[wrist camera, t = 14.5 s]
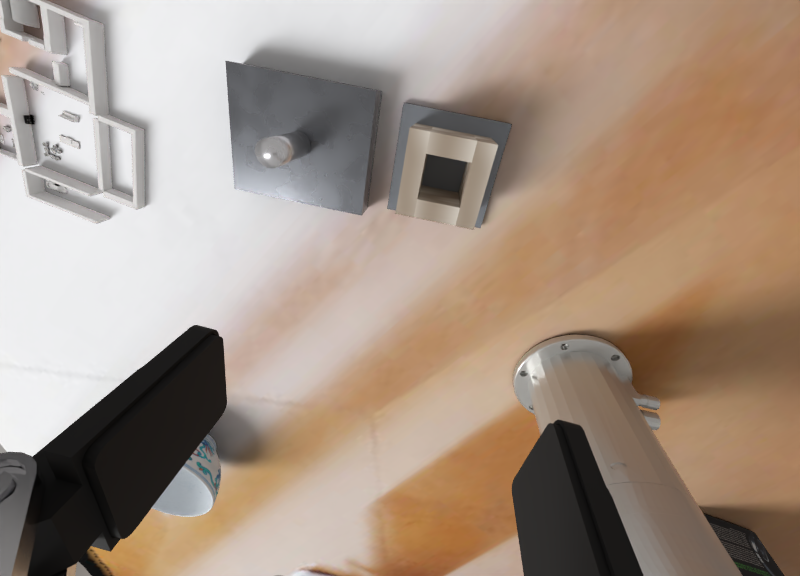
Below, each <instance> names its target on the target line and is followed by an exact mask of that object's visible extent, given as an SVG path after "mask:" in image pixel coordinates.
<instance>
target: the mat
mask: <svg viewBox="0 0 800 576" xmlns="http://www.w3.org/2000/svg"><path fill="white" fill-rule="evenodd" d="M415 123H418V124H423V125H428V126H433V127H438V128H443V129H448V130H453V131H458V132H463V133H468V134H473V135H479V136H484V137H489V138H492V139H493V140H494V141H495V142H496V143H497V144H498V148H497V151H496V155H495V158H494V162H493V165H492V169H491V172H490V175H489V179H488V182H487V186H486V189H485V193H484V196H483V200H482V203H481V206H480V210H479V213H478V217H477V220H476V224H475V227H478V228H481V224H482V221H483V218H484V215H485V211H486V208H487V205H488V201H489V198H490V195H491V191H492V188H493V185H494V182H495V178H496V175H497V172H498V168H499V165H500V162H501V158H502V155H503V152H504V149H505V145H506V142H507V139H508V135H509V132H510V129H511V125H512V124H509V123H504V122H499V121H494V120H489V119H484V118H479V117H474V116H469V115H464V114H459V113H454V112H449V111H444V110H439V109H434V108H429V107H424V106H419V105H414V104H409V103H404V104H403V111H402V117H401V124H400V130H399V136H398V143H397V149H396V156H395V162H394V169H393V175H392V181H391V188H390V194H389V201H388V207H387V209H391V210H396V207H397V201H398V195H399V189H400V183H401V177H402V171H403V165H404V159H405V153H406V147H407V141H408V135H409V129H410V127H411V126H413V125H414V124H415ZM465 165H466V162H465V161H460V160H455V159H450V158H445V157H440V156H435V155H430V154H428V156H427V161H426V166H425V171H424V176H423V181H422V185H423V186H428V187H433V188H438V189H443V190H448V191H453V192H458V193H459V189H460V185H461V181H462V177H463V173H464V169H465Z"/></svg>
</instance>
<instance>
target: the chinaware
mask: <svg viewBox="0 0 800 576" xmlns="http://www.w3.org/2000/svg"><path fill="white" fill-rule="evenodd" d="M216 447H217V446H216V443H215V441H214V439H213V438H212V437H211V436H210V435H209V434H207V436H206V437H205V438H204V439H203V441H202V442H201V443H200V445H199V446H198V447H197V449H196V450H195V451H194V453H193V454H192V455H191V457H190V458H189V459H188V460H187V462H186V463H185V464H184V466H183V467H182V468H181V470H180V471H179V472H178V474H177V475H176V476H175V478H174V479H173V480H172V482H171V483H170V484H169V485H168V487H167V488H166V489H165V491H164V492H163V493H162V495H161V496H160V497H159V499H158V500H157V501H156V503H155V504H154V505H153V506H152V508H153V509H155V510H158V511H161V512H164V513H167V514H171V515H176V516H184V517H194V516H200V515H203V514H205V513H207V512H208V511H210V510H211V508H212V507H213V505H214V502H215V500H216V497H217V494H218V490H219V486H220V480H221V466H220V461H219V458H218V455H217V453H216Z"/></svg>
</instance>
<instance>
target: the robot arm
mask: <svg viewBox="0 0 800 576" xmlns="http://www.w3.org/2000/svg"><path fill="white" fill-rule="evenodd" d="M632 378H633V377H632V369H631V366H630V363H629V361H628V360H627V358H626V357H625V355H624V354H623V353H622V352H621V351H620V350H619V349H618V348H617V347H616V346H615V345H613V344H612V343H610V342H609V341H606V340H604V339H601V338H598V337H594V336H589V335H565V336H560V337H556V338H552V339H549V340H547V341H544V342H542V343H540V344H538V345H536V346H535V347H533V348H532V349H530V350H529V351H528V352H527V353H526V354H524V356H523V357H522V358H521V359H520V360H519V362H518V364H517V366H516V368H515V370H514V374H513V386H514V390H515V394H516V396H517V398H518V400H519V401H520V403H521V404H522V405H523V406H524V407H525V408H526V409H527V410H528V411H530V412H532V413H533V414H535V417H536V420H537V424H538V428H539V431H540V435H541V436H540V438H539V439H538V441H537V442H536V444H535V446H534V447H533V449H532V450H531V452H530V454H529V455H528V457H527V459H526V460H525V462H524V463H523V465H522V467H521V468H520V470H519V472H518V473H517V475H516V476H515V478H514V480H513V484H512V496H513V503H514V510H515V516H516V523H517V530H518V537H519V544H520V551H521V558H522V565H523V572H524V576H743V575H742V574H741V572H740V571H739V569H738V568H737V566H736V565H735V563H734V562H733V560H732V559H731V557H730V555H729V554H728V552H727V551H726V549H725V548H724V546H723V545H722V543H721V542H720V540H719V538H718V537H717V535H716V534H715V532H714V530H713V529H712V527H711V526H710V524H709V522H708V521H707V519H706V517H705V516H704V514H703V513H702V511H701V509H700V508H699V506H698V504H697V503H696V501H695V500H694V498H693V497H692V495H691V493H690V492H689V490H688V488H687V487H686V485H685V483H684V482H683V480H682V479H681V477H680V475H679V474H678V472H677V470H676V469H675V467H674V465H673V464H672V462H671V460H670V459H669V457H668V456H667V454H666V452H665V451H664V449H663V447H662V446H661V444H660V442H659V441H658V439H657V437H656V436H655V434H654V433H653V431H652V430H657V429H658V428H659V427H660V418H659V415H658V414H657V413H654V412H649V411H645V410H640V409H639V408H638V406H642V407H644V408H649V409H653V410H657V409H659V407H660V401H659V399H658V398H657V397H654V396H649V395H642V394H638V392H637V391H636V390H635V389H634V387H633V385H632V384H631V383H632ZM226 405H227V396H226V379H225V363H224V346H223V338H222V337H220V336H219V334H218V332H217V330H214V329H210V328H206V327H202V326H198V325H194V326H192V327H190V328H189V329H188V330H187V331H186V332H184V333H183V334H182V335H181V336H179V337H178V338H177V339H176V340H175V341H173V342H172V343H171V344H170V345H169V346H167V347H166V348H165V349H164V350H163V351H161V352H160V353H159V354H158V355H157V356H155V357H154V358H153V359H152V360H150V361H149V362H148V363H147V364H146V365H144V366H143V367H142V368H140V369H138V370H137V371H136V372H135V373H134V374H132V375H131V376H130V377H129V378H127V379H126V380H125V381H124V382H123V383H121V384H120V385H119V386H118V387H117V388H115V389H114V390H113V391H112V392H110V393H109V394H108V395H107V396H106V397H104V398H103V399H102V400H101V401H100V402H98V403H97V404H96V405H95V406H94V407H92V408H91V409H90V410H89V411H87V412H86V413H85V414H84V415H83V416H81V417H80V418H79V419H78V420H77V421H75V422H74V423H73V424H72V425H70V426H69V427H68V428H67V429H66V430H64V431H63V432H62V433H61V434H60V435H58V436H57V437H56V438H55V439H54V440H52V441H51V442H50V443H49V444H47V445H46V446H45V447H44V448H43V449H41V450H40V451H39V452H38V453H37V454H35V455H34V456H33V457H32V456H30V455H27V454H25V453H22V452H6V453H0V576H75V572H76V563H77V562H78V561H79V560H80V558H81V557H82V556H83V555H84V554H85V552H86V551H87V550H88V549H89V548H90V546H93V547H96V548H100V549H103V550H107V551H110V552H111V550H112V549H113V548H114V547H115V545H116V544H117V543H118V541H119V540H120V539H125V538H127V537H128V536H129V535H130V534H132V532H133V531H134V530H135V529H136V528H137V526H138V525H139V524H140V522H141V521H142V520H143V518H144V517H145V516H146V514H147V513H148V512H149V510H150V509H151V508H152V506H153V505H154V504H155V503H156V501H157V500H158V499H159V497H160V496H161V495H162V493H163V492H164V491H165V489H166V488H167V487H168V485H169V484H170V483H171V482H172V480H173V479H174V478H175V476H176V475H177V474H178V472H179V471H180V470H181V468H182V467H183V466H184V464H185V463H186V462H187V460H188V459H189V458H190V457H191V455H192V454H193V453H194V451H195V450H196V449H197V447H198V446H199V445H200V443H201V442H202V441H203V439H204V438H205V437H206V436H207V434H208V433H209V432H210V430H211V429H212V428H213V426H214V425H215V424H216V422H217V421H218V420H219V418H220V417H221V416H222V414H223V413H224V411H225V408H226Z"/></svg>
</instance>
